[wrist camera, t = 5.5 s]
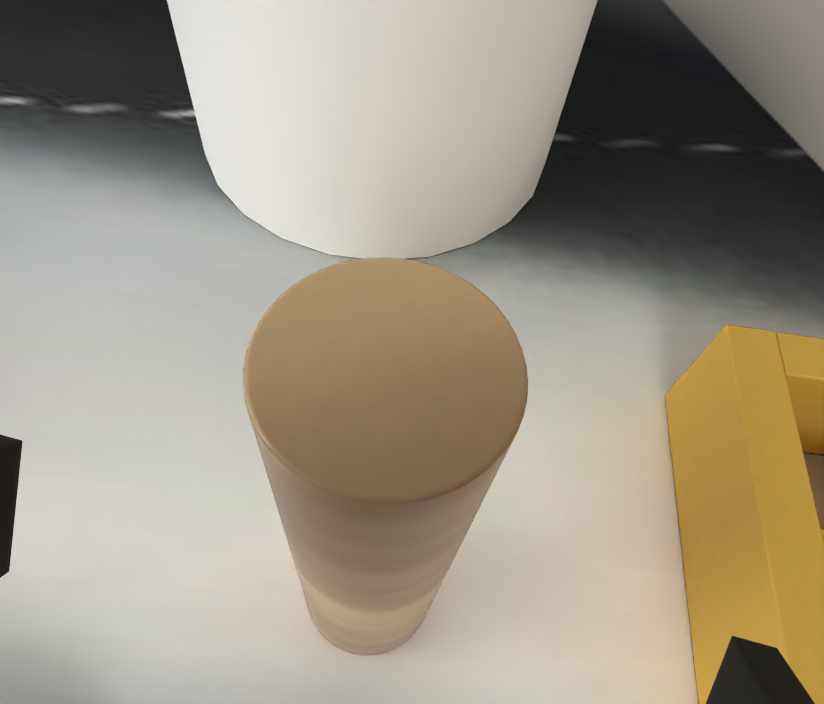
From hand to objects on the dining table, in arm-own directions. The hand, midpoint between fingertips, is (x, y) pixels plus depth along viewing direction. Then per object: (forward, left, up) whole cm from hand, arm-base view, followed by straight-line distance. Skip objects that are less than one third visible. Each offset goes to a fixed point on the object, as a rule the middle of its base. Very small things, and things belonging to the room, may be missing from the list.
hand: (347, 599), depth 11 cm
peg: (-2, +2, -9) cm, 10 cm away
